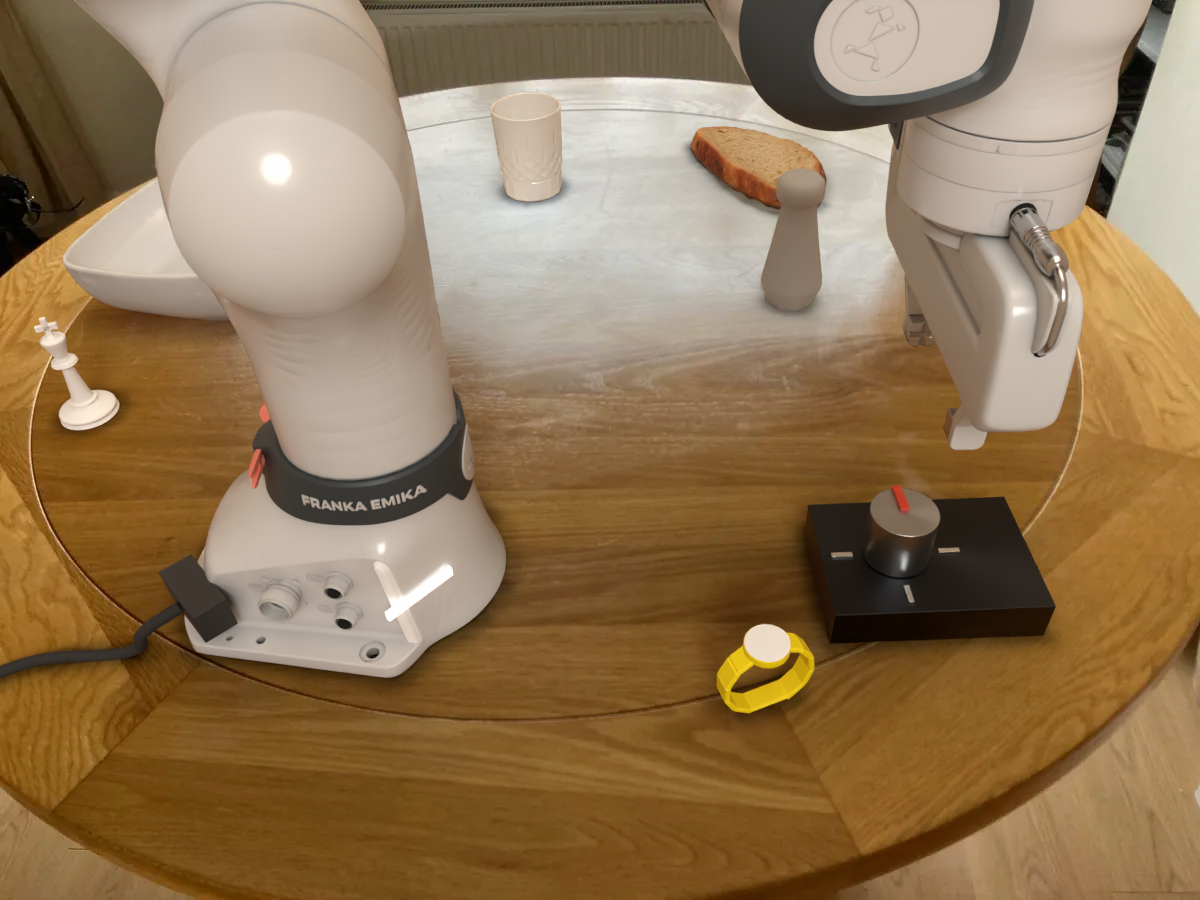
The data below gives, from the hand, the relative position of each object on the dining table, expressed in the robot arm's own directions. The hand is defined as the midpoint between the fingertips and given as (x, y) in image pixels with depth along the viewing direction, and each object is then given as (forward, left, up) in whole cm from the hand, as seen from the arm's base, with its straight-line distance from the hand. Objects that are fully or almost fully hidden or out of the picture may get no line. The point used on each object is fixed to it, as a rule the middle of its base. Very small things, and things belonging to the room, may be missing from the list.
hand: (938, 387), depth 55 cm
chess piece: (-65, +23, -17) cm, 71 cm away
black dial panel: (+2, 0, -17) cm, 17 cm away
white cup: (-27, +62, -17) cm, 70 cm away
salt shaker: (-1, +36, -17) cm, 40 cm away
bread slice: (-1, +63, -17) cm, 65 cm away
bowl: (-60, +44, -17) cm, 77 cm away
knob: (0, 0, -14) cm, 14 cm away
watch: (-10, -9, -17) cm, 22 cm away
